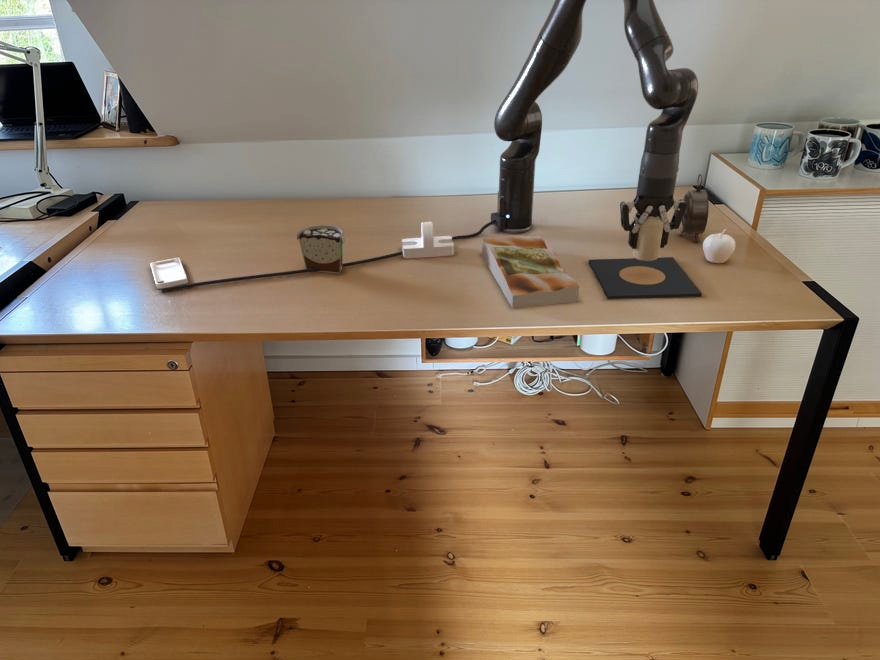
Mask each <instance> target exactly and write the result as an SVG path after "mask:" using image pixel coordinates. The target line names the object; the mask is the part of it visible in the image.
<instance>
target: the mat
mask: <svg viewBox="0 0 880 660" xmlns="http://www.w3.org/2000/svg"><path fill="white" fill-rule="evenodd" d="M588 265H589V266H590V268H591V270H592V272H593V274H594V276H595V277H596V279H597V281H598V284H599V285H600V288H601V289H602V291H603V293H604V295H605V297H606V299H607V300H623V299H624V300H629V299H631V300H632V299H660V298H661V299H663V298H664V299H667V298H701V297H702V296H703V293H702V291H700V289H699V288H698V287H697V286H696V284H695V283H694V282H693V280H692V279H691V277H689V276H688V274H687V272H685V270H684V269H683V268H682V267H681V265H680V264H679V262H677V260H675V257H673V256H665V257H663V256H661V257H660V256H659V257H658V258H657V259H656V260H653V261H643V260H638V259H636V258H634V257H633V258H631V257H630V258H602V259H601V258H600V259H599V258H597V259H588Z"/></svg>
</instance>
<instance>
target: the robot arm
mask: <svg viewBox="0 0 880 660" xmlns="http://www.w3.org/2000/svg"><path fill="white" fill-rule="evenodd" d="M586 2H587V0H554V2H553V4H552V7H551V8H550V11H549V13H548V15H547V18H546V19H545V21H544V23H543V25H542V27H541V28H540V30H539V33H538V35H537V37H536V39H535V40H534V42H533V45H532V47H531V50H530V52H529V54H528V56H527V58H526V60H525V62H524V63H523V66H522V68H521V69H520V71H519V73H518V76H517V77H516V79H515V81H514V83H513V85H512V86H511V88H510V89H509V91H508V92H507V94H506V96H505V97H504V99H503V100H502V102H501V104H500V105H499V106H498V109H497V111H496V113H495V115H494V122H493V128H494V133H495V134H496V136H497V138H498V139H500V140H501V141H503V142H510V144H509V146H508V147H507V148H506V149H505V150H503V152H502V153H501V154H500V156H499V172H498V173H499V175H498V176H499V177H498V178H499V179H498V191H497V207H496V208H497V209H496V211H495V212H491V213H490V221H489V222H487V223H486V224H484V225H483V226H482V227H481V228H480V229H479V230H478V231H477V232H474V233H471V234H465V235H454V236H451V237H452V241H455V240H461V239H469V238H474V237H477V236H479V235H480V234H482V233H483V232H484V231H485V229H487V228H488V227H491V226H492V225H493V226H494V227H496V228H497V229H498V230H497V231H498V232H499V233H507V234H523V233H527V232H529V231H531V230H532V228H533V211H534V210H533V208H534V191H535V175H536V162H537V161H536V160H537V158H538V156H539V153H540V147H541V138H542V130H543V129H542V128H543V114H542V110H541V107H540V106H539V104H538V103H537V102H536V101H537V99H538V98H539V97H540V96H541V95H542V94H543V93H544V92H545V91H546V90H547V89H548V88H549V87H550V86H551V85H552V84H553V83H554V82H555V81H556V80H557V79H558V78H559V77H560V76H561V75H562V74H563V72H564V71H565V70H566V68H568V65H569V64H570V62H571V60H572V59H573V58H574V57H573V56H574V55H575V53H576V52H577V50H578V48H579V45H580V43H581V40H582V35H583V13H584V8H585V5H586ZM622 2H623V9H624V11H623V13H624V14H623V29H624V34H625V38H626V41H627V43H628V45H629V47H630V50H631V52H632V54H633V56H634V59H635V61H636V63H637V67H638V75H639V81H640V83H639V84H640V88H641V95H642V97H643V99H644V101H645V102H646V104H647V105H648V106H649V107H650V108H652V109H655V110H660V111H661V113H660V115H659V116H658V117H656V118H655V119H653V120H652V121H650V122H649V123H648V125H647V128H646V132H645V139H644V146H643V152H642V155H641V159H640V165H639V173H638V179H637V187H636V193H635V198H634V199H633V200H632V201H628V202H625V201H621V202H620V204H619V208H620V209H619V210H620V225H621V227H622V229H623V230H624V231H625V232H628V239H627V244H628V245H629V247H630V248H631V249H632V250H634V249H636V244H637V237H638V233H637V231H638V230H639V228H640V226H641V225H643V223H644V221H645V220H646V218H647V217H649V216H652V217H657V216H659V217H661V219H662V221H663V224H664V227H663V233H662V239H661V245H660V249H664V248H665V246H667V245H668V242H669V236H670V232H671V231H672V230H678V229H679V228H680V226H681V225H682V218H683V215H684V213H685V210H686V207H687V204H686V203H685V202H684V201H683V200H684V199H681V198H679V199H678V200H677V199H674V194H675V188H676V184H677V177H678V172H679V169H680V168H679V165H680V152H681V146H682V145H681V144H682V139H683V133H684V129H685V127H686V125H687V122H688V121H689V118H690V115H691V113H692V111H693V108H694V106H695V103H696V101H697V97H698V94H699V80H698V77H697V74H696V73H695V72H694V71H693V70H692V69H690V68H687V67H679V68H674V69H668V67H667V64H666V62H667V61H669V59H670V58H671V57H672V56H673V54H674V44H673V42H672V39H671V38H670V35H669V33H668V31H667V29H666V27H665V25H664V22H663V20H662V18H661V16H660V13H659V11H658V9H657V6H656V4H655V2H654V0H622ZM672 207H673V210H674V212H673V214H672V216H671V220H670V221H669V217H668V214H667V213H668V212H669V211H670V210H671V209H672ZM633 208H635V210H636V212H635V214H634V216H633V219H632V221H631V222H630V213H631V212H632V210H633ZM398 256H403V251H397V252H394V253H389V254H386V255H381V256H376V257H371V258H366V259H362V260H355V261H351V262H344V263H342V268H345V267H350V266H357V265H363V264H366V263H367V264H368V263H371V262H376V261H380V260H381V261H382V260H386V259H390V258H394V257H398ZM317 271H320V268H310V269H306V268H303V269H296V270H287V271H278V272H271V273H270V272H269V273H262V274H254V275H246V276H237V277H229V278H222V279H221V278H220V279H214V280H205V281H200V282H192V283H186V284H181V285H176V286H171V287H166V288H162V289H161V292H162V293H165V292H170V291H176V290H182V289H187V288H194V287H200V286H207V285H214V284H216V285H217V284H222V283H223V284H224V283H230V282H238V281H246V280H254V279H265V278H272V277H281V276H289V275H296V274H304V273H312V272H317Z"/></svg>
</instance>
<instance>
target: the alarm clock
mask: <svg viewBox="0 0 880 660" xmlns="http://www.w3.org/2000/svg"><path fill="white" fill-rule="evenodd" d="M699 181H700V183H699ZM702 183H703V174H702V173H700V174H698V176H697V181H696V184H697V185H696V189H691V190H688V191H687V192H686V193H685V194H684V197H683V199H682V200H683V201H684V202H685V203H686V204H687V207H686V210H685V213H684V215H683V218H682V221H681V226H682V229H681V232H680V234H679V235H680V236H682V235H683V234H684V233H685V234H686V235H694V239H695V240H694V242H695V243H698V242H699V241H698V240H699V235H700V234H701V235H702V234H704V233H705V231H706V228H707V224H708V218H709V210H710V209H709V206H710V205H709V204H710V203H709V194H708V191H707V190H706V189H701V188H702V185H703V184H702Z"/></svg>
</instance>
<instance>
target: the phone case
mask: <svg viewBox="0 0 880 660" xmlns="http://www.w3.org/2000/svg"><path fill="white" fill-rule="evenodd" d="M170 261H172V262H170ZM158 263H159V264H158ZM160 263H162V264H160ZM150 269H151V273H152V276H153V279H154V282H155V287H156V289H157V290H162V288H168V287H174V286H180V285H186V284H189V281H188V276H187V274H186V271H185V269H184V266H183V263H182V261H181V259H180V257H174V258H168V259H164V260H163V259H162V260H157V261H153V262H150Z"/></svg>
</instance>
